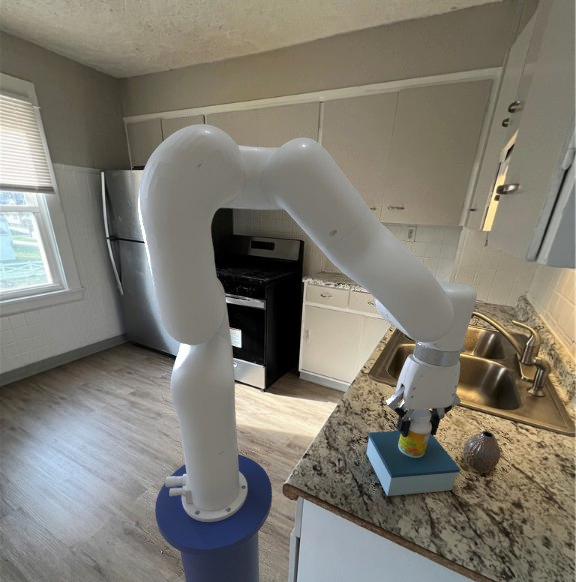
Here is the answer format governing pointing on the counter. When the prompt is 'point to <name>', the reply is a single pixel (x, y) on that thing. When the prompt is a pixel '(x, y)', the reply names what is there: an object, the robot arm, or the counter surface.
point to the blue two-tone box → (410, 466)
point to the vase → (482, 451)
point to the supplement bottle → (416, 434)
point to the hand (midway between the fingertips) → (416, 431)
